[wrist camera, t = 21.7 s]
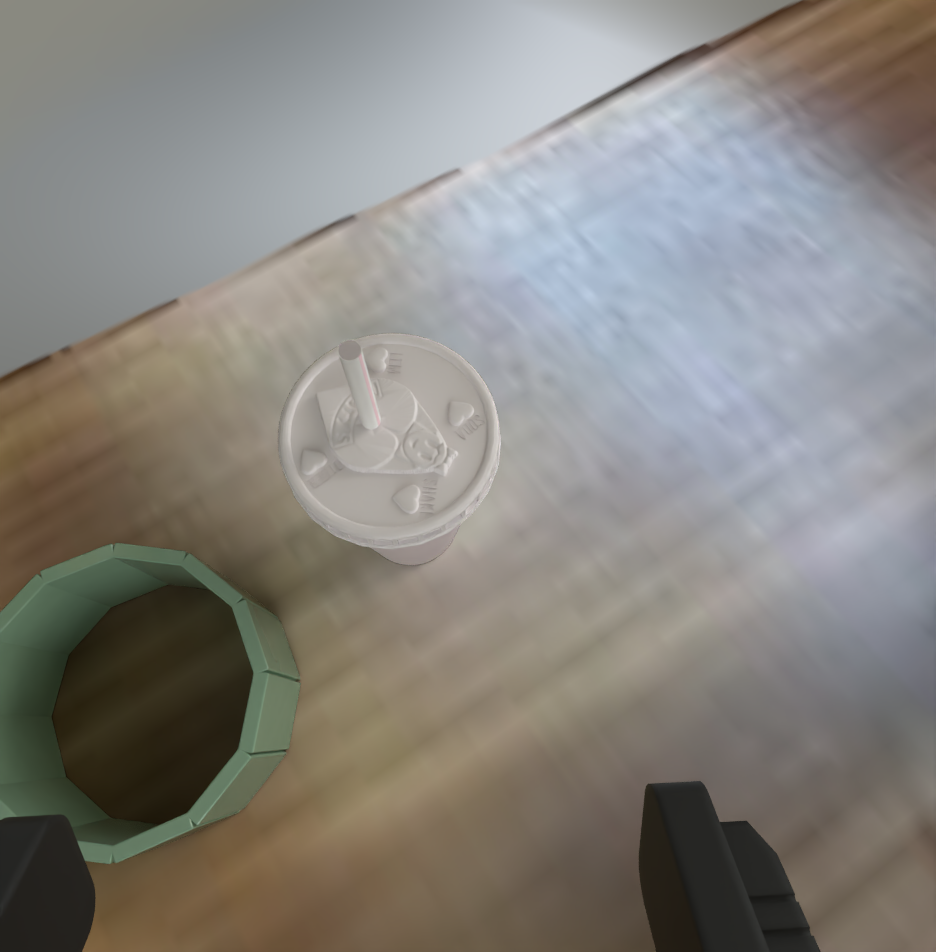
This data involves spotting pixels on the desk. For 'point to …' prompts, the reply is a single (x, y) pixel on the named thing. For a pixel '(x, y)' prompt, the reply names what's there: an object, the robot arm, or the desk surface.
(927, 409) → the desk surface
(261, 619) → the holder
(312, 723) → the desk surface
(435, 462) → the smoothie
